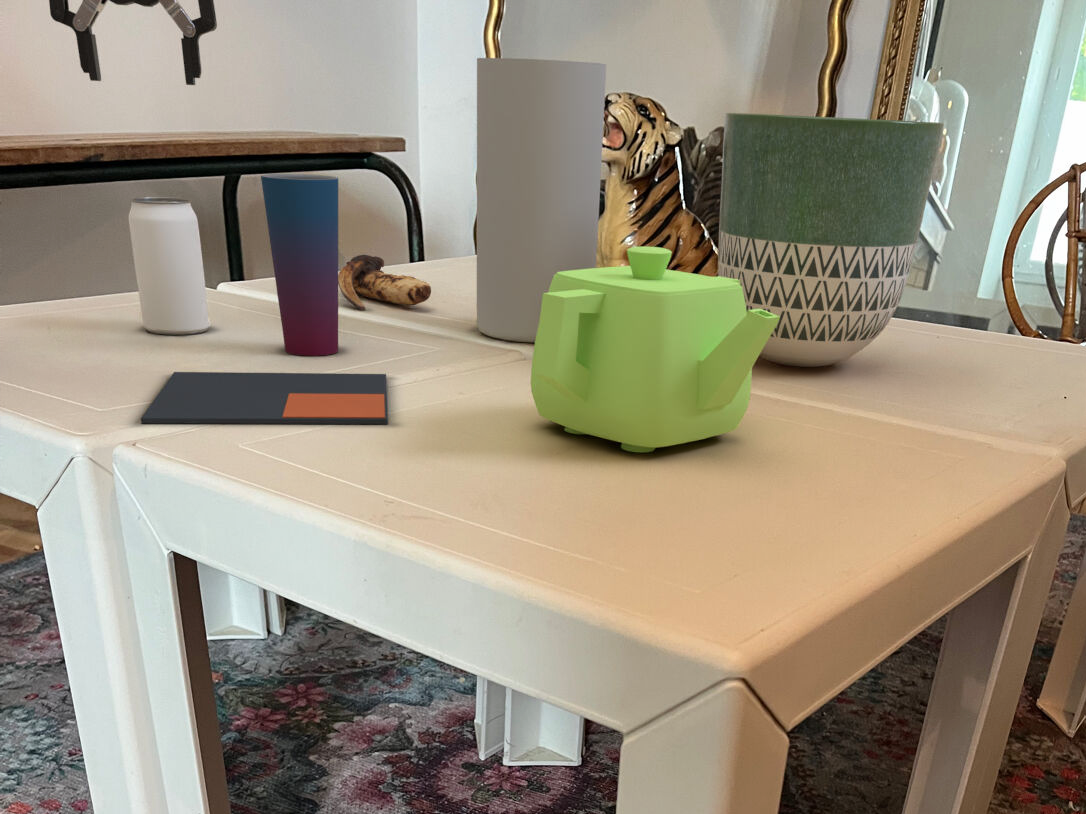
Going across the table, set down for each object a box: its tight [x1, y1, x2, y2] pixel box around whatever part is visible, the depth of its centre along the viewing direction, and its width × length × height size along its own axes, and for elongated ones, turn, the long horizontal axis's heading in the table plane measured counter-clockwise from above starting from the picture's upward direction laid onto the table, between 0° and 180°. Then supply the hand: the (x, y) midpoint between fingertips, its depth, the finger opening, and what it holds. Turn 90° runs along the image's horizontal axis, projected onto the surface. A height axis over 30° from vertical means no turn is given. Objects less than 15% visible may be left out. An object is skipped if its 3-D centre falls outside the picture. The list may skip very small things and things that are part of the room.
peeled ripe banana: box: [338, 254, 432, 311], centre depth 133 cm, size 9×5×18 cm
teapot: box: [530, 246, 780, 453], centre depth 81 cm, size 18×20×13 cm
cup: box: [260, 173, 339, 357], centre depth 104 cm, size 7×7×15 cm
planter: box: [717, 112, 945, 368], centre depth 107 cm, size 20×20×21 cm
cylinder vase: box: [476, 57, 607, 344], centre depth 115 cm, size 12×12×25 cm
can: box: [128, 196, 210, 336], centre depth 112 cm, size 6×6×12 cm
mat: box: [140, 371, 389, 425], centre depth 91 cm, size 18×16×1 cm
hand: (143, 82), depth 105 cm, fingers open, 8 cm apart
